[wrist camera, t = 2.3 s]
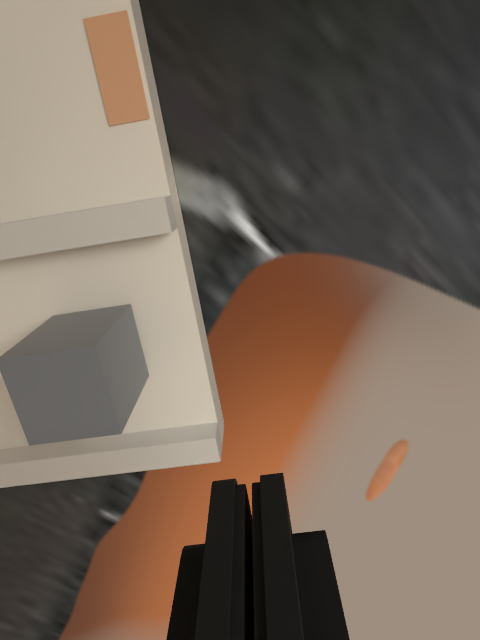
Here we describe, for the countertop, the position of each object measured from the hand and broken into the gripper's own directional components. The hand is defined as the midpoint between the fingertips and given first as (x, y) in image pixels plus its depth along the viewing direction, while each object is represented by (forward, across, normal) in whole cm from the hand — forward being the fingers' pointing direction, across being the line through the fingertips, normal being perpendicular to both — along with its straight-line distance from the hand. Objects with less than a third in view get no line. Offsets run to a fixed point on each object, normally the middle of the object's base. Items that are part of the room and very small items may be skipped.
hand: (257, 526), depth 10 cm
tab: (+12, +8, -1) cm, 14 cm away
